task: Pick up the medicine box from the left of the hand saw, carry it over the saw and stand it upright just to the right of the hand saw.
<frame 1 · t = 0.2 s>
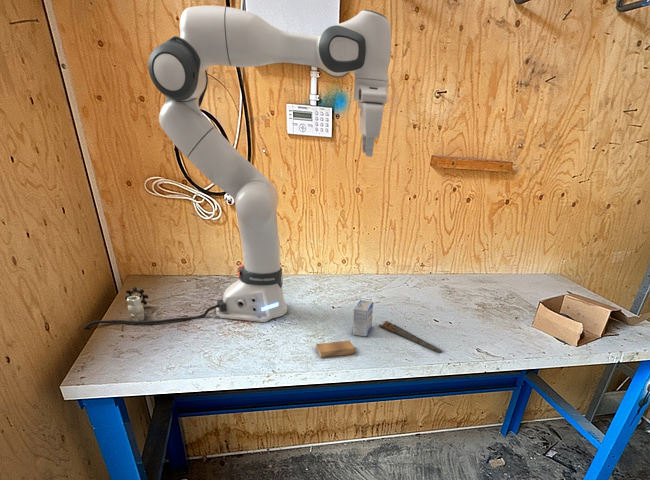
hand: (367, 154, 121), 47 cm above the workbench, tool pointing down, fingers open, 8 cm apart
hand saw: (407, 337, 135), on the workbench
plywood offcut: (335, 351, 124), on the workbench
valve: (138, 314, 134), on the workbench
medicine box: (362, 331, 136), on the workbench
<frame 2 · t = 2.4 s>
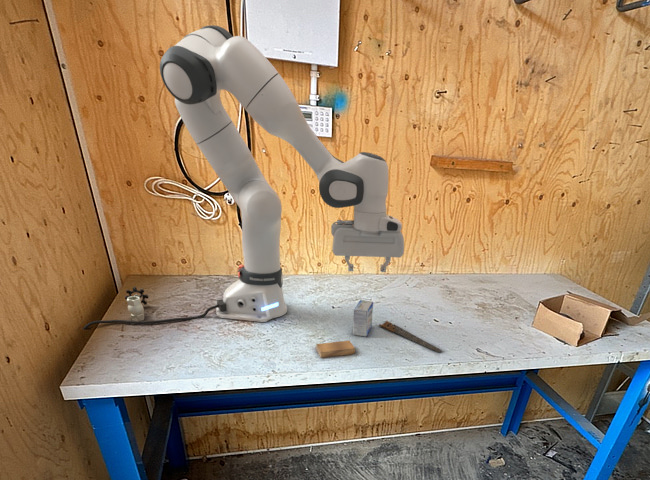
hand: (366, 271, 126), 19 cm above the workbench, tool pointing down, fingers open, 8 cm apart
nothing on the workbench moved.
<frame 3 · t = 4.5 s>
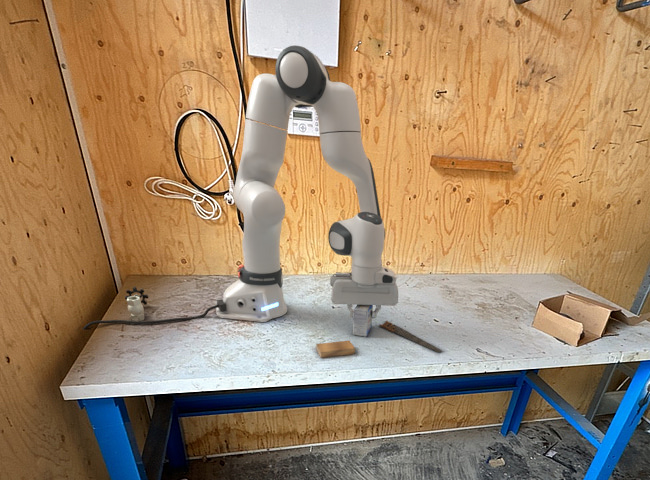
hand: (363, 317, 134), 5 cm above the workbench, tool pointing down, fingers closed on medicine box, 5 cm apart
medicine box: (362, 331, 136), on the workbench, touching gripper
everything else where it was.
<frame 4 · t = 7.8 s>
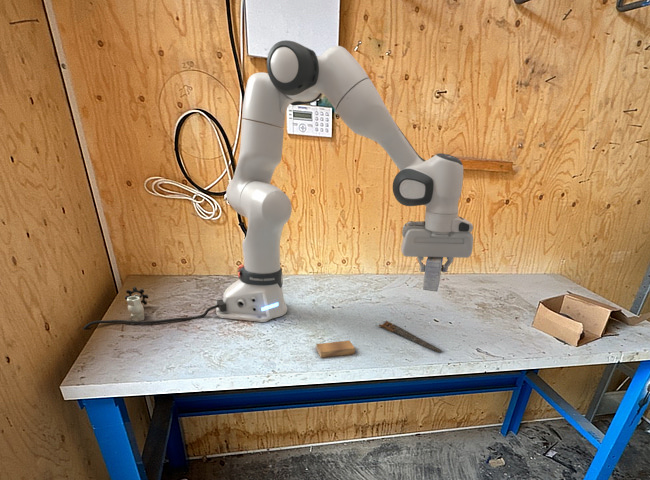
hand: (433, 271, 127), 20 cm above the workbench, tool pointing down, fingers closed on medicine box, 5 cm apart
medicine box: (430, 287, 130), point 15 cm above the workbench, touching gripper
everything else where it was.
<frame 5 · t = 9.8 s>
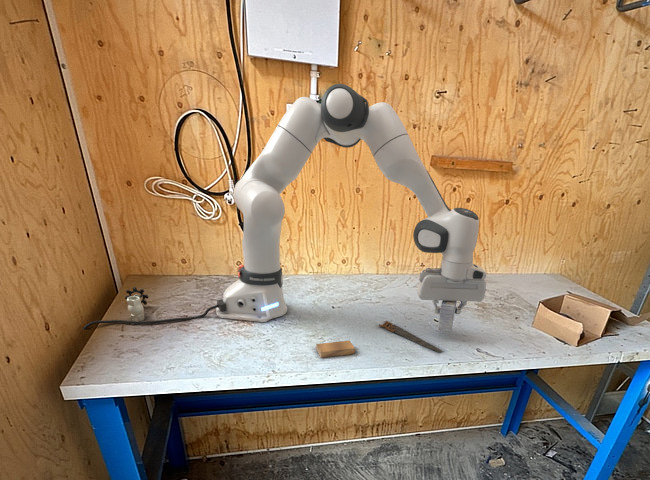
hand: (447, 313, 134), 7 cm above the workbench, tool pointing down, fingers closed on medicine box, 5 cm apart
medicine box: (444, 327, 137), point 3 cm above the workbench, touching gripper
everything else where it was.
when the fingers open (4 cm above the workbench, at t = 11.2 s): medicine box stays where it is, on the workbench.
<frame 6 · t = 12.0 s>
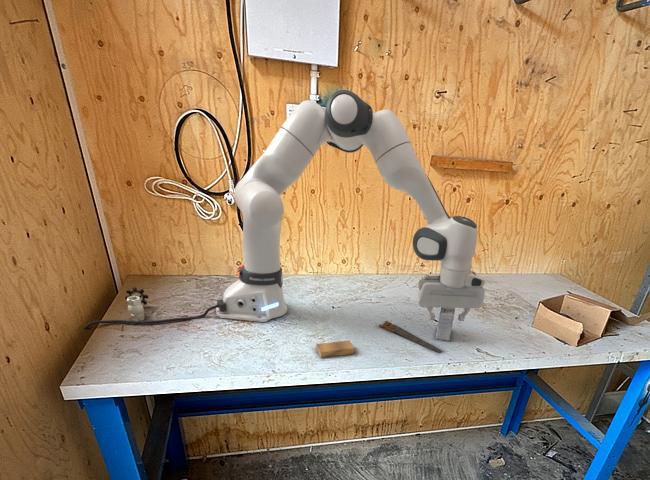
hand: (446, 319, 135), 5 cm above the workbench, tool pointing down, fingers open, 8 cm apart
medicine box: (443, 335, 138), on the workbench
everything else where it was.
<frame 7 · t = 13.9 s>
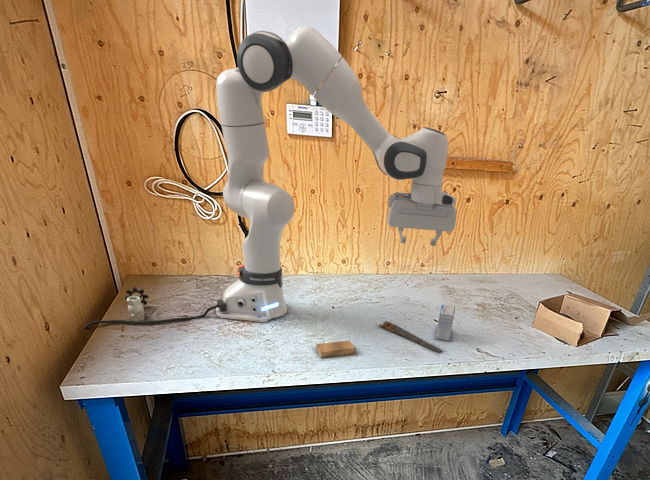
hand: (417, 244, 132), 25 cm above the workbench, tool pointing down, fingers open, 8 cm apart
nothing on the workbench moved.
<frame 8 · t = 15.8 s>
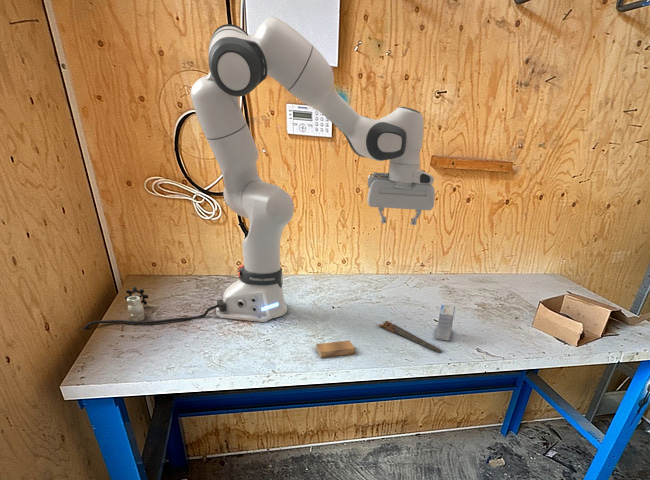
hand: (398, 223, 134), 29 cm above the workbench, tool pointing down, fingers open, 8 cm apart
nothing on the workbench moved.
at the end: medicine box inside the target area on the workbench beside the hand saw (0.6 cm from its centre), on the workbench; medicine box tilted 0°; hand saw moved 0.0 cm from its start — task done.
